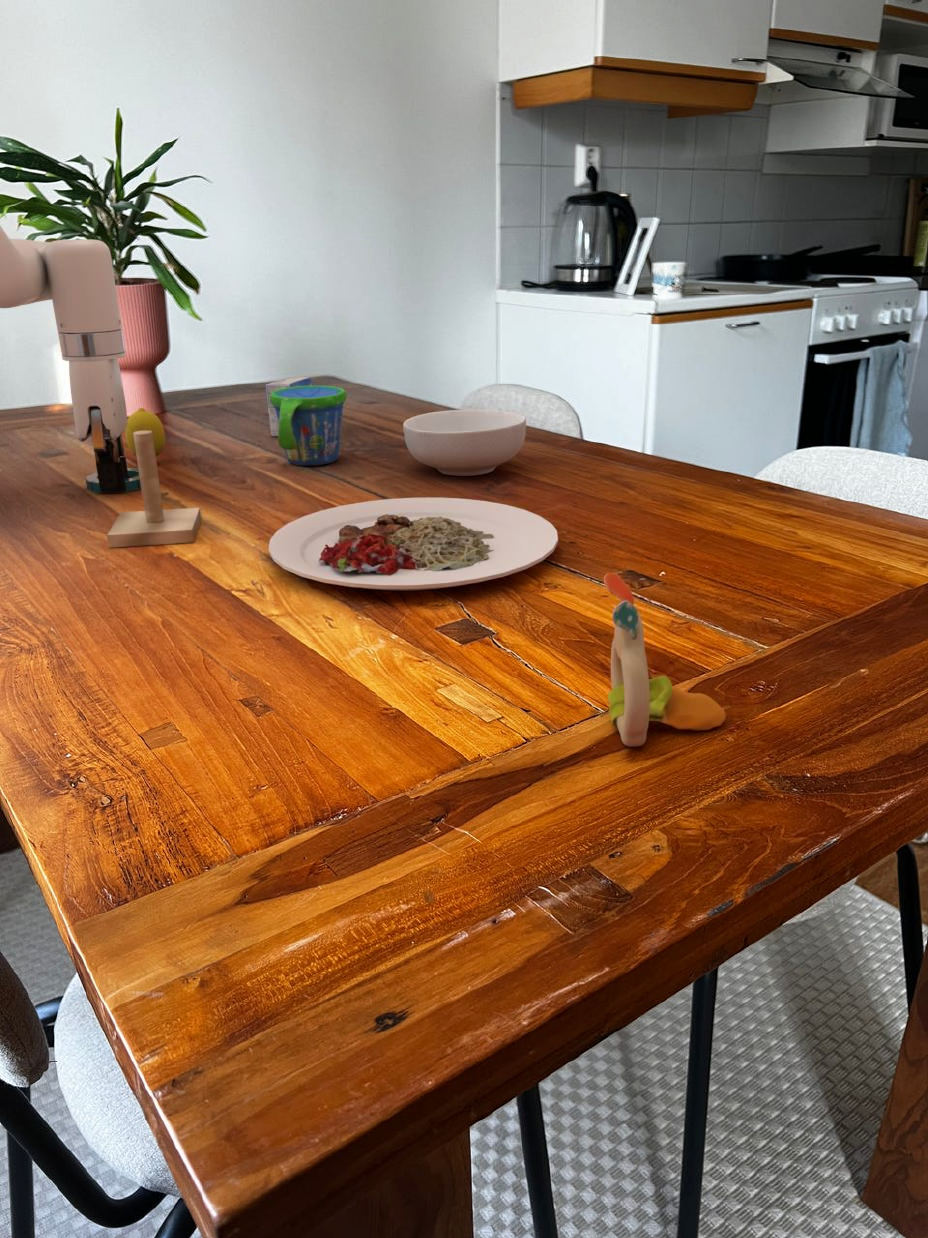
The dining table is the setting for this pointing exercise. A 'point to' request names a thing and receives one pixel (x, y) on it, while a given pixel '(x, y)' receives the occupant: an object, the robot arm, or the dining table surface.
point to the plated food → (413, 543)
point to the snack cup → (309, 423)
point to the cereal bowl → (465, 439)
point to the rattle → (647, 681)
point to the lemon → (145, 429)
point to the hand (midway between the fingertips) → (115, 488)
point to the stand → (152, 508)
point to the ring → (131, 483)
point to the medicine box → (276, 386)
